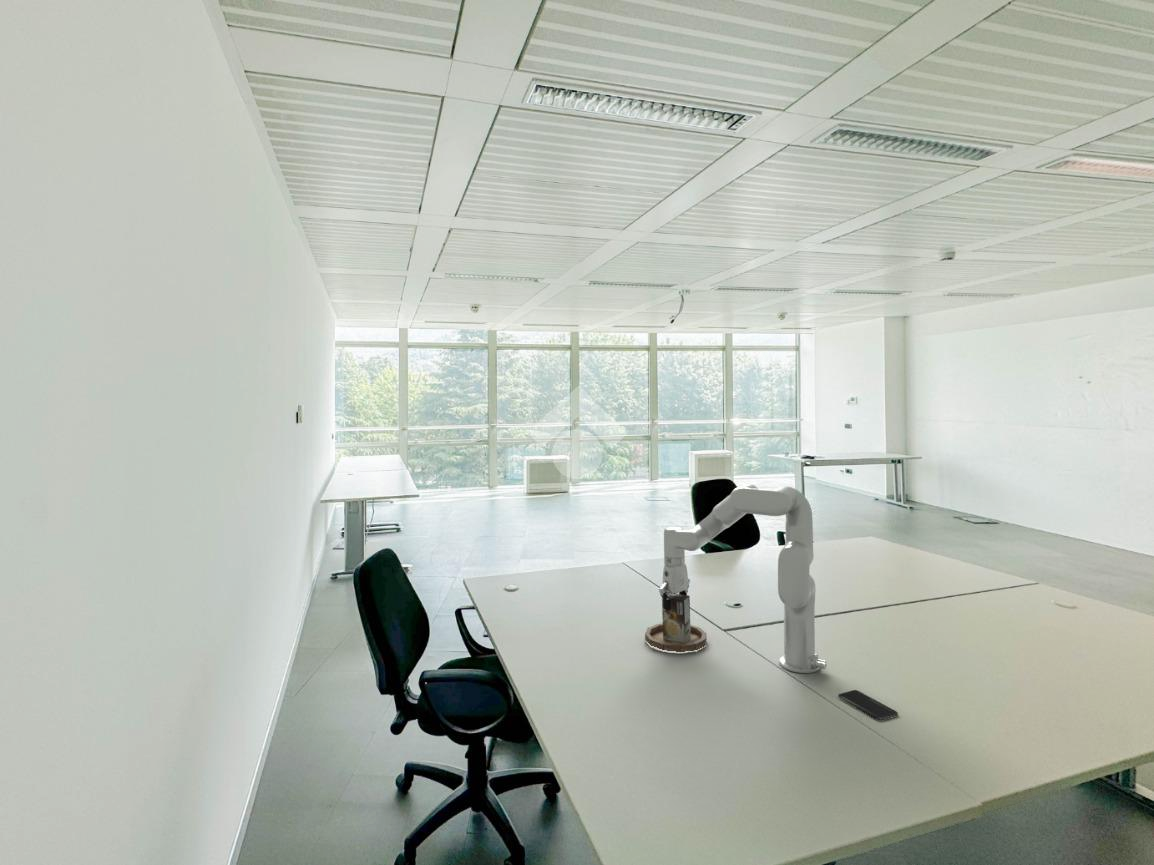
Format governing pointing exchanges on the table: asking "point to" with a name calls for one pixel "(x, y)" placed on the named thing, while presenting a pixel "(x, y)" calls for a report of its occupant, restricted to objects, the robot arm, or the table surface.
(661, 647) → the round tray
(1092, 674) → the table surface
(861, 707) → the phone
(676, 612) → the coffee box
